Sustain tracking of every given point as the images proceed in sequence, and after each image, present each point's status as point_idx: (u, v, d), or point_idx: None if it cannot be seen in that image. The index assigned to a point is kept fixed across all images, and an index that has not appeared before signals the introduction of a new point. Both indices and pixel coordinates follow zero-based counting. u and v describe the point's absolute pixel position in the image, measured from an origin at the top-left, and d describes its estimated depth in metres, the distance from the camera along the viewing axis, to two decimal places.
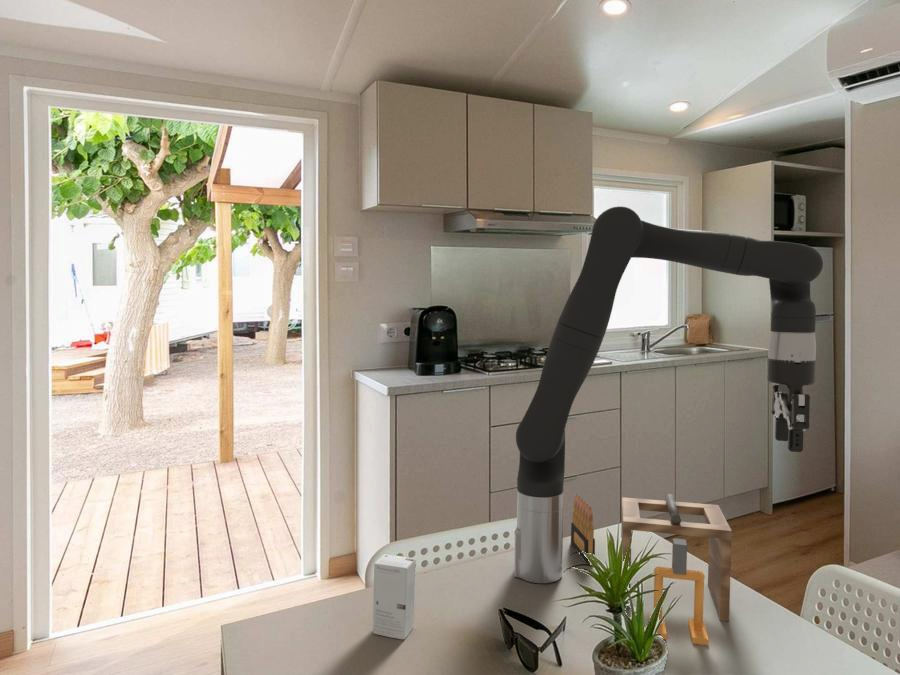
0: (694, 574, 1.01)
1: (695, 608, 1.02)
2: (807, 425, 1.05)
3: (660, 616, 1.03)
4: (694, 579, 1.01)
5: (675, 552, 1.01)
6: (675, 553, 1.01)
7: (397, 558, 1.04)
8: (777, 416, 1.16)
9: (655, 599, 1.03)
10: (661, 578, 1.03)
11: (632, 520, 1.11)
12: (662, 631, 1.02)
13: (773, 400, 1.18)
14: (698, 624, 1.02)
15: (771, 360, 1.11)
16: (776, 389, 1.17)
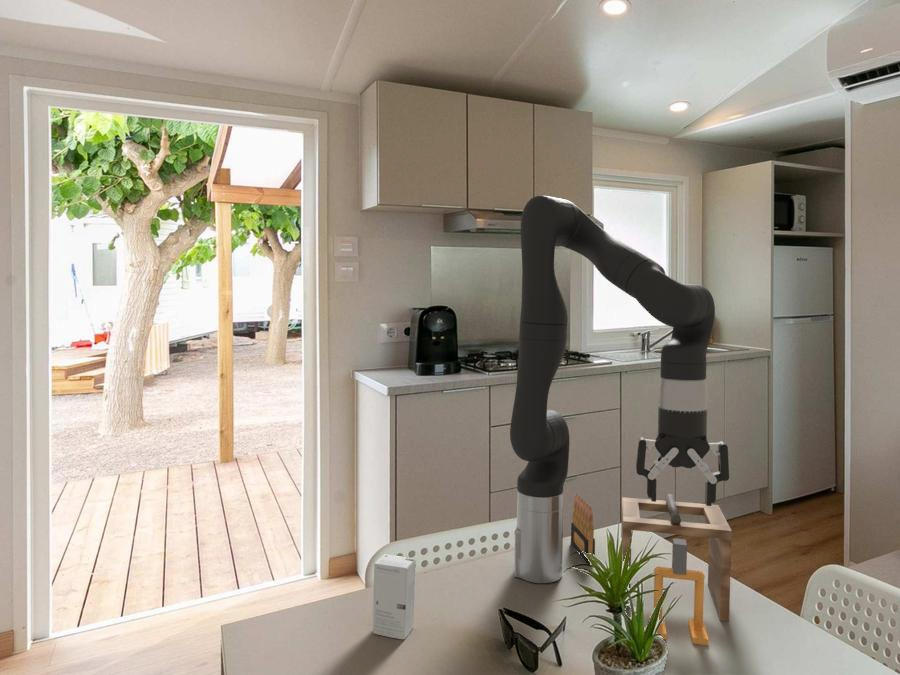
0: (694, 574, 1.01)
1: (695, 608, 1.02)
2: None
3: (660, 616, 1.03)
4: (694, 579, 1.01)
5: (675, 552, 1.01)
6: (675, 553, 1.01)
7: (397, 558, 1.04)
8: (657, 474, 1.02)
9: (655, 599, 1.03)
10: (661, 578, 1.03)
11: (632, 520, 1.11)
12: (662, 631, 1.02)
13: (642, 458, 1.02)
14: (698, 624, 1.02)
15: (692, 413, 0.97)
16: (646, 445, 1.02)
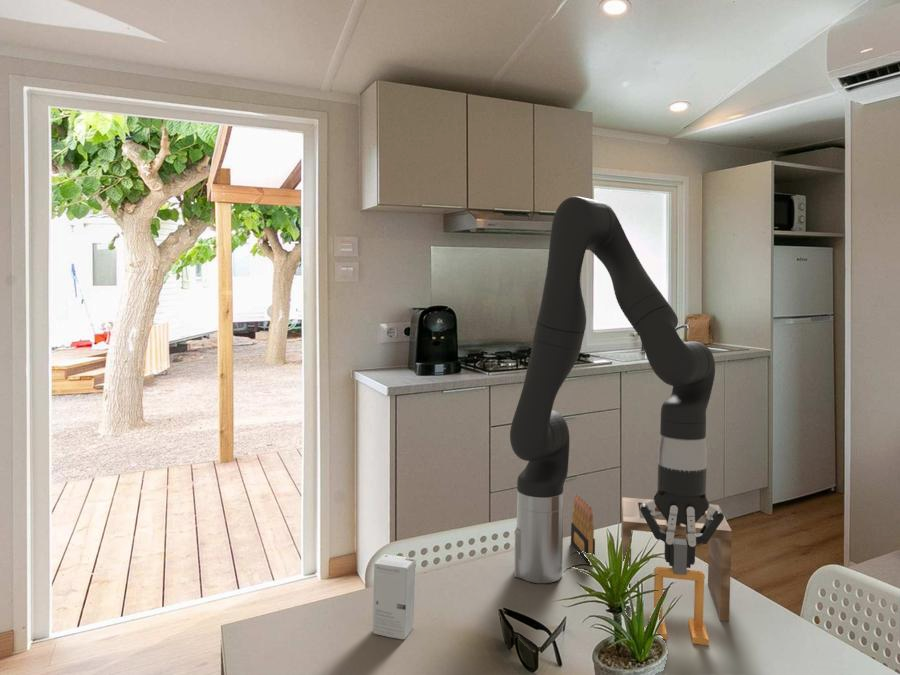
0: (694, 574, 1.01)
1: (695, 608, 1.02)
2: None
3: (660, 616, 1.03)
4: (694, 579, 1.01)
5: (675, 552, 1.01)
6: (675, 553, 1.01)
7: (397, 558, 1.04)
8: None
9: (655, 599, 1.03)
10: (661, 578, 1.03)
11: (632, 520, 1.11)
12: (662, 631, 1.01)
13: (652, 523, 1.02)
14: (698, 624, 1.02)
15: (692, 472, 0.98)
16: (648, 509, 1.02)
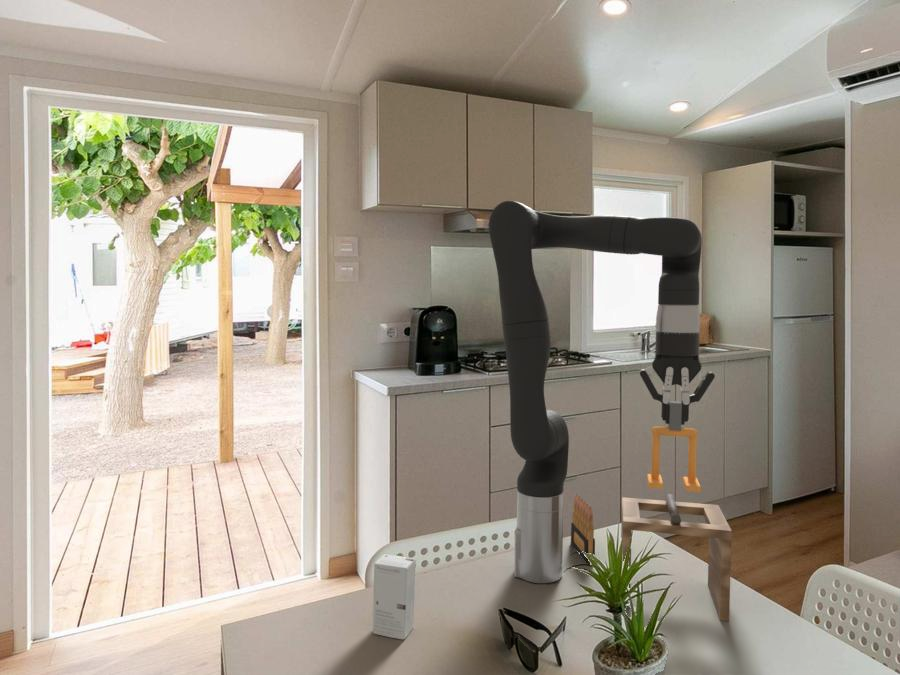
0: (688, 430, 1.12)
1: (689, 462, 1.13)
2: None
3: (657, 471, 1.14)
4: (688, 435, 1.12)
5: (671, 410, 1.12)
6: (671, 411, 1.12)
7: (397, 558, 1.04)
8: None
9: (653, 455, 1.14)
10: (658, 436, 1.14)
11: (632, 520, 1.11)
12: (659, 482, 1.12)
13: (650, 385, 1.13)
14: (691, 476, 1.12)
15: (686, 334, 1.09)
16: (646, 373, 1.13)
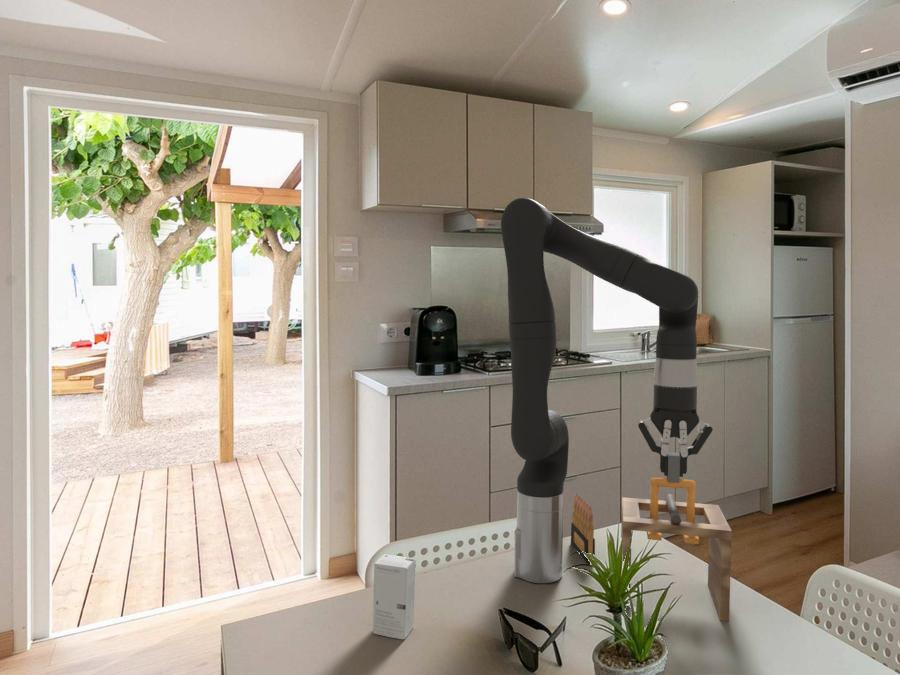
0: (686, 482, 1.13)
1: (687, 513, 1.14)
2: None
3: None
4: (686, 487, 1.13)
5: (669, 462, 1.13)
6: (669, 463, 1.13)
7: (397, 558, 1.04)
8: None
9: (651, 506, 1.15)
10: (657, 487, 1.15)
11: (632, 520, 1.11)
12: (658, 533, 1.13)
13: (649, 437, 1.14)
14: None
15: (684, 388, 1.10)
16: (645, 425, 1.14)
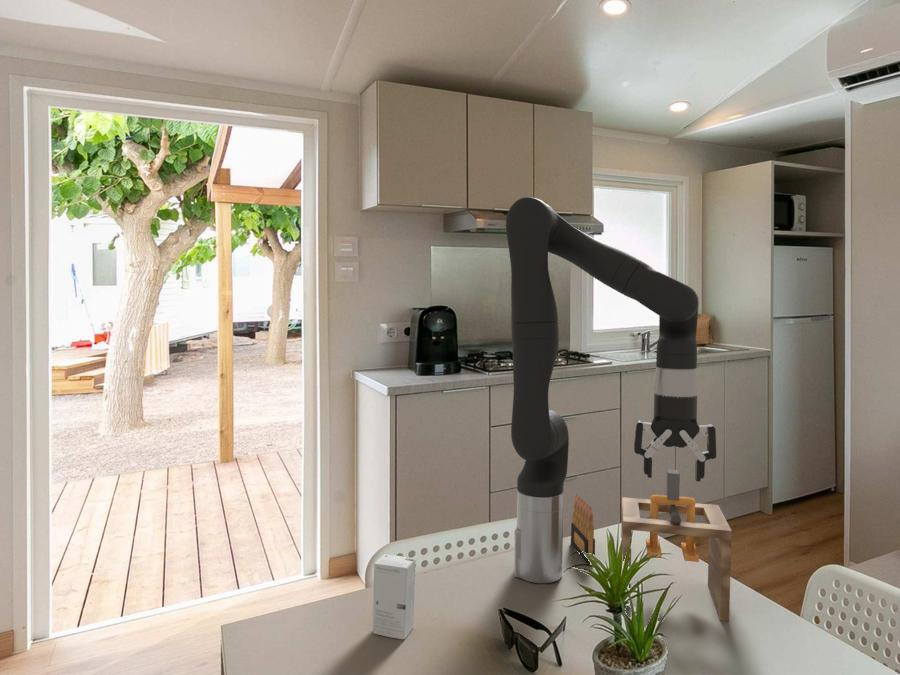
0: (686, 500, 1.13)
1: None
2: None
3: (656, 539, 1.15)
4: (686, 504, 1.13)
5: (669, 480, 1.13)
6: (669, 481, 1.13)
7: (397, 558, 1.04)
8: (652, 453, 1.14)
9: None
10: (656, 504, 1.15)
11: (632, 520, 1.11)
12: (657, 551, 1.13)
13: (639, 439, 1.14)
14: (690, 544, 1.14)
15: (684, 398, 1.10)
16: (643, 427, 1.14)
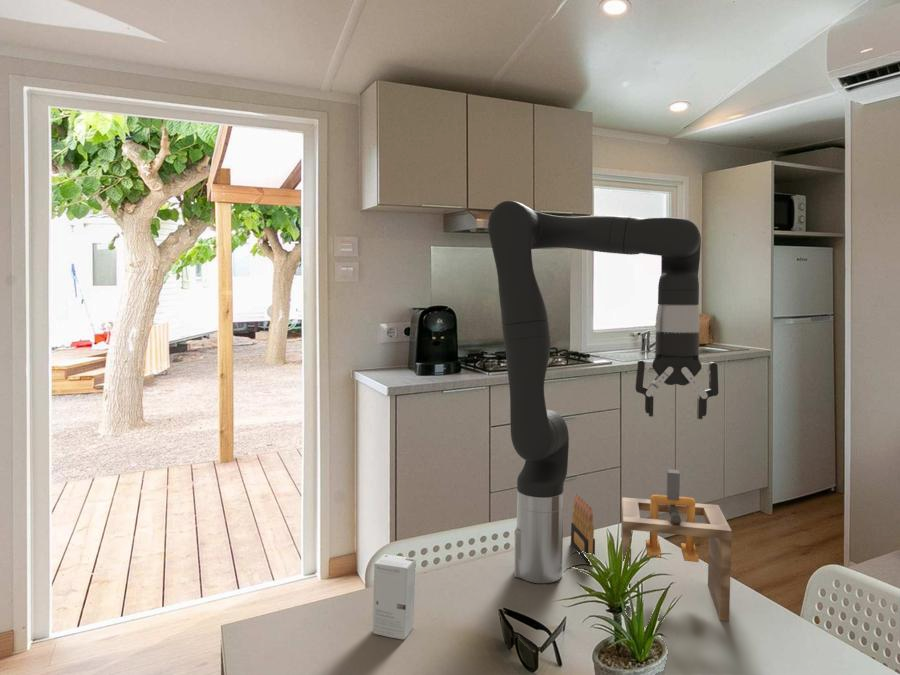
0: (686, 500, 1.13)
1: None
2: None
3: (656, 539, 1.15)
4: (686, 504, 1.13)
5: (669, 480, 1.13)
6: (669, 481, 1.13)
7: (397, 558, 1.04)
8: None
9: None
10: (656, 504, 1.15)
11: (632, 520, 1.11)
12: (657, 551, 1.13)
13: (641, 377, 1.14)
14: (690, 545, 1.13)
15: (686, 334, 1.09)
16: (644, 365, 1.14)
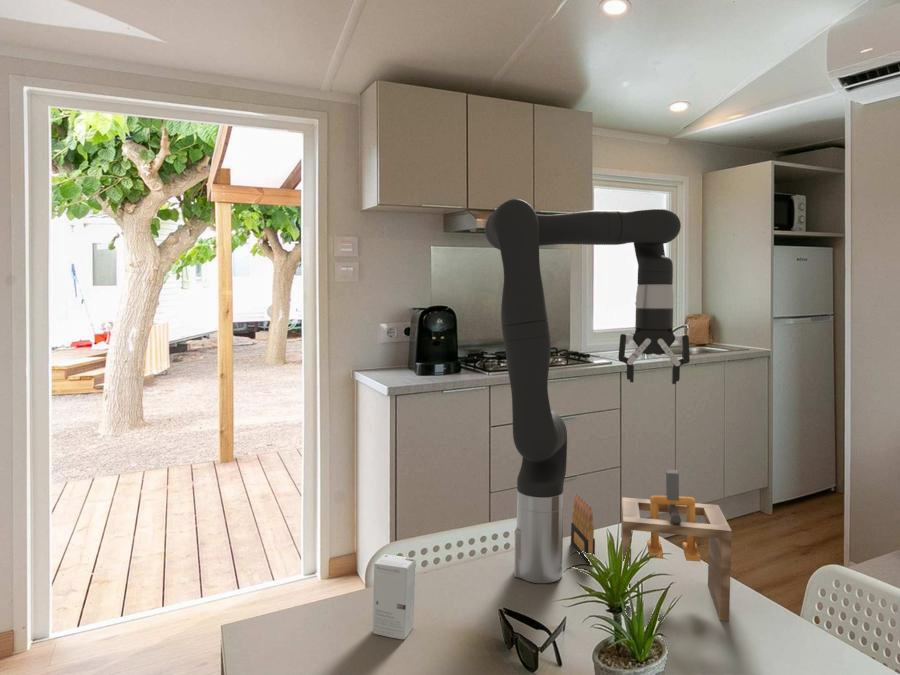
0: (686, 499, 1.13)
1: None
2: None
3: (657, 539, 1.15)
4: (686, 504, 1.13)
5: (668, 480, 1.13)
6: (668, 481, 1.13)
7: (397, 558, 1.04)
8: None
9: None
10: (657, 505, 1.15)
11: (632, 520, 1.11)
12: (659, 551, 1.13)
13: (623, 348, 1.31)
14: (691, 544, 1.14)
15: (661, 309, 1.26)
16: (626, 338, 1.31)
